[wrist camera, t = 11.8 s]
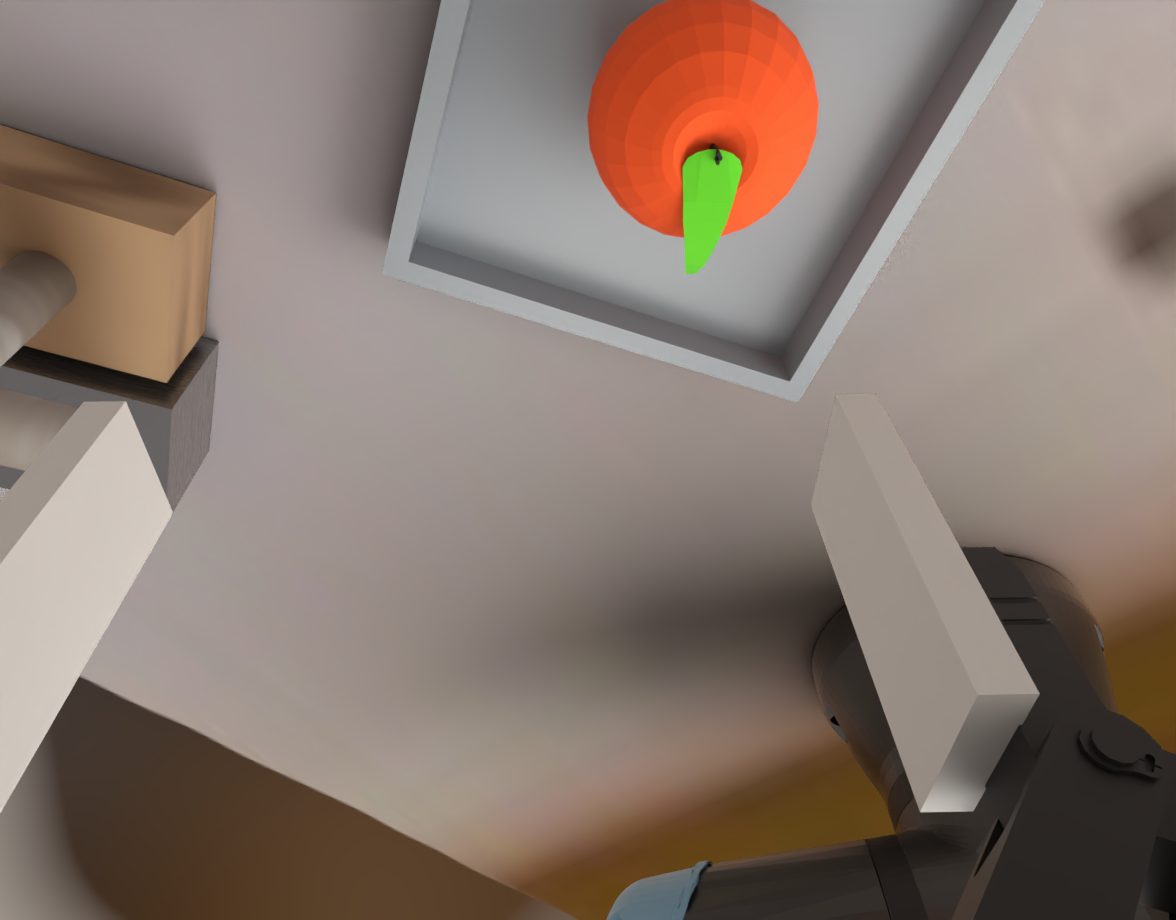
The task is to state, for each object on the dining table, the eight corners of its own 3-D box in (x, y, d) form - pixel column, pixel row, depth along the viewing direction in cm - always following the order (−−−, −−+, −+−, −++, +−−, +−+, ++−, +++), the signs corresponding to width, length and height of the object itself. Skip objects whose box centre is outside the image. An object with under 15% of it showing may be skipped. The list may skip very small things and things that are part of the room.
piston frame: (281, -337, 21) (198, -387, 17) (208, 451, 37) (155, 541, 32) (-105, -515, 19) (-325, -629, 15) (-8, 397, 35) (-99, 484, 30)
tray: (1044, -72, 25) (1085, -65, 23) (784, 370, 35) (797, 403, 33) (521, -329, 21) (516, -346, 20) (393, 246, 31) (381, 274, 29)
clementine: (765, 226, 30) (809, 315, 25) (580, 219, 30) (582, 308, 24) (810, -20, 25) (878, 21, 20) (589, -31, 25) (595, 8, 20)
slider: (216, 193, 30) (38, 372, 20) (205, 330, 33) (48, 542, 23) (-26, 116, 28) (-355, 271, 18) (-11, 270, 31) (-281, 470, 21)
